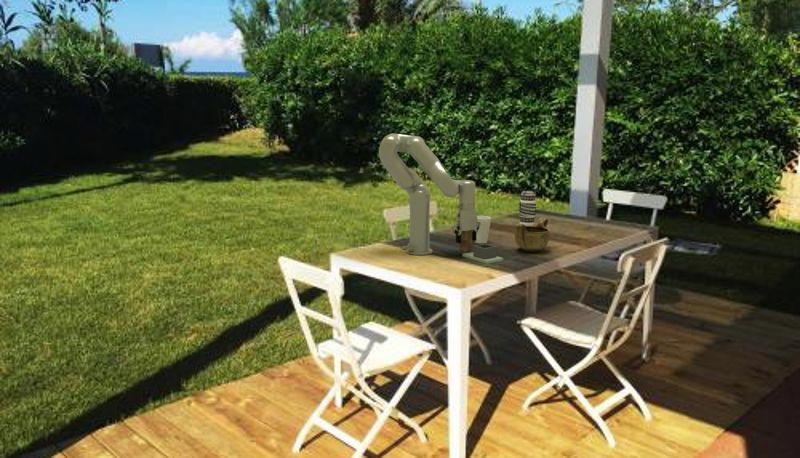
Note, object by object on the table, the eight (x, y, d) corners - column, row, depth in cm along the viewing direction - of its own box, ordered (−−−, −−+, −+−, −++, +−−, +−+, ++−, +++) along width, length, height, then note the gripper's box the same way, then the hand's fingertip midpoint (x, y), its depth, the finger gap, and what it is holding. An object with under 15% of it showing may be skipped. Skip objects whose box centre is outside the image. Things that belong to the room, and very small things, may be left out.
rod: (465, 254, 318) (465, 226, 316) (459, 253, 322) (460, 224, 319) (471, 253, 321) (472, 225, 318) (466, 252, 324) (466, 223, 321)
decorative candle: (517, 239, 353) (518, 192, 348) (518, 235, 362) (520, 189, 357) (534, 240, 351) (536, 193, 346) (535, 236, 360) (537, 190, 354)
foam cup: (493, 243, 343) (494, 218, 340) (476, 244, 340) (477, 219, 337) (485, 239, 352) (486, 215, 349) (469, 240, 349) (469, 216, 346)
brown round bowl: (530, 244, 341) (532, 215, 338) (559, 249, 329) (560, 219, 326) (503, 251, 326) (504, 220, 323) (532, 257, 314) (533, 226, 311)
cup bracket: (486, 263, 302) (487, 250, 301) (462, 256, 316) (462, 243, 314) (503, 260, 308) (503, 247, 306) (478, 253, 321) (478, 240, 320)
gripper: (457, 209, 309) (457, 245, 312) (485, 205, 318) (484, 240, 322) (447, 207, 315) (447, 242, 318) (475, 203, 324) (474, 238, 328)
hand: (466, 241), depth 320 cm, fingers open, 9 cm apart
